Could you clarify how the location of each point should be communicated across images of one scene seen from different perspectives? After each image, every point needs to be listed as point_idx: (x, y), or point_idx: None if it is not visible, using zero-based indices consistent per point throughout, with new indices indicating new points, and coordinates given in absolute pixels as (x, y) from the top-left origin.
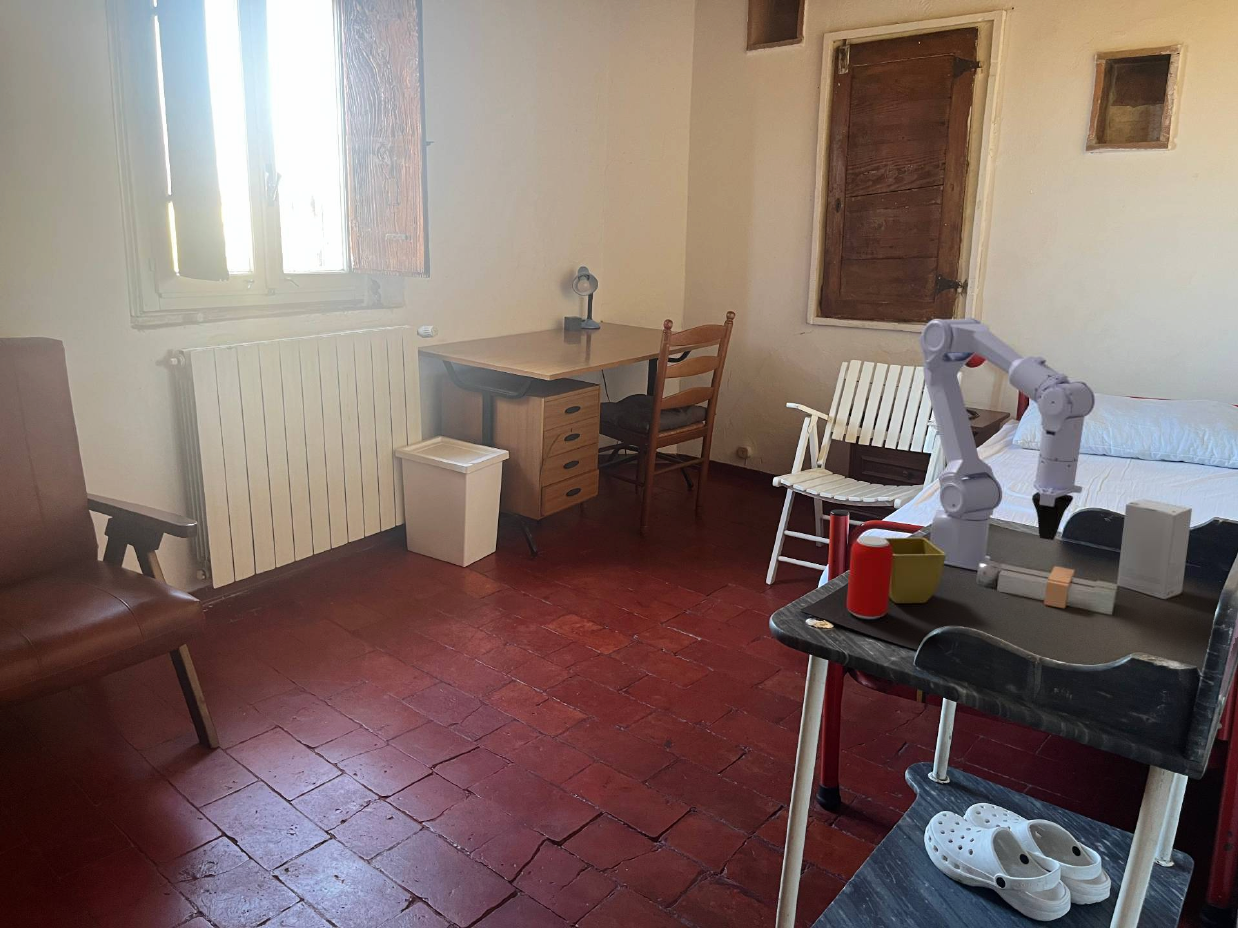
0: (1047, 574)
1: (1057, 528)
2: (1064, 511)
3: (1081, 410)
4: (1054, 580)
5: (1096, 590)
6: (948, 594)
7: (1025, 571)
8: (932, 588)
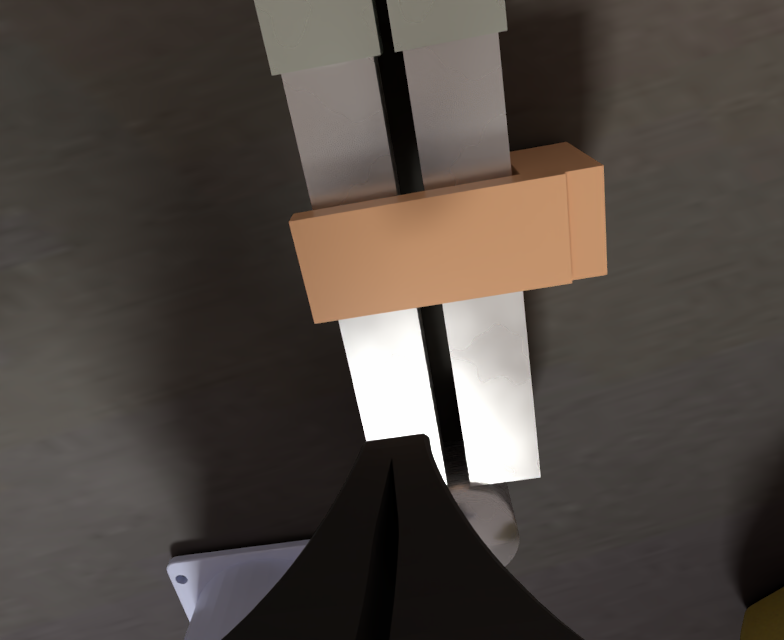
0: (374, 321)
1: (440, 484)
2: (544, 609)
3: None
4: (569, 249)
5: (468, 20)
6: (686, 529)
7: (411, 408)
8: None
